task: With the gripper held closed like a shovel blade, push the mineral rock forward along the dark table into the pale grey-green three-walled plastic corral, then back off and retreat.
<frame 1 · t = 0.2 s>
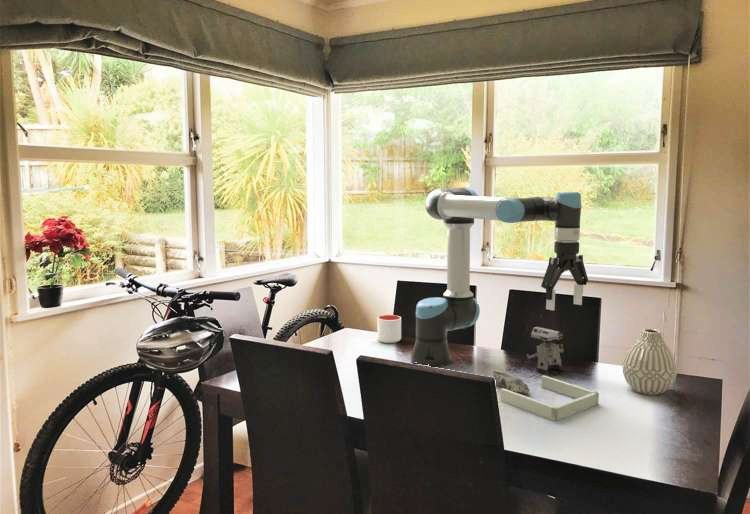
hand: (564, 307, 193), 28 cm above the table, fingers open, 13 cm apart
vase: (647, 391, 196), on the table
figurine: (544, 369, 217), on the table
corral: (548, 402, 186), on the table
mineral rock: (510, 389, 198), on the table
cup: (389, 341, 256), on the table
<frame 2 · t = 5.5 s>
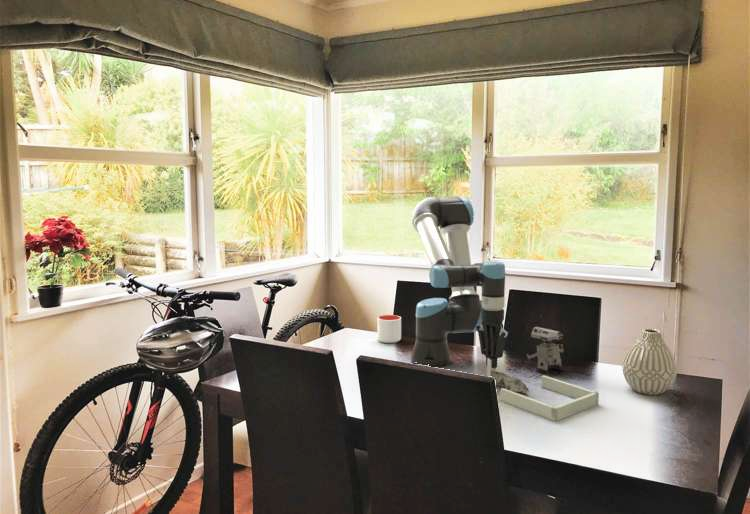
hand: (491, 376, 204), 2 cm above the table, fingers closed
mineral rock: (509, 389, 198), on the table, touching gripper
everything else where it was.
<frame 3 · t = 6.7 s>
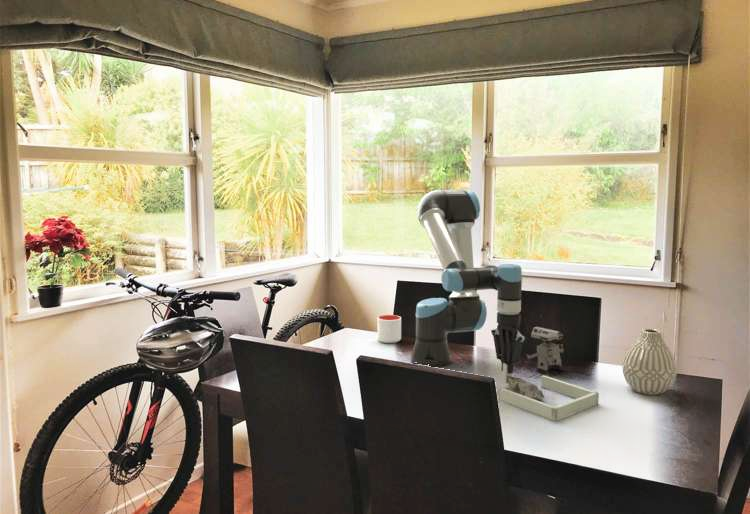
hand: (507, 381, 199), 2 cm above the table, fingers closed
mineral rock: (525, 395, 192), on the table, touching gripper
everything else where it was.
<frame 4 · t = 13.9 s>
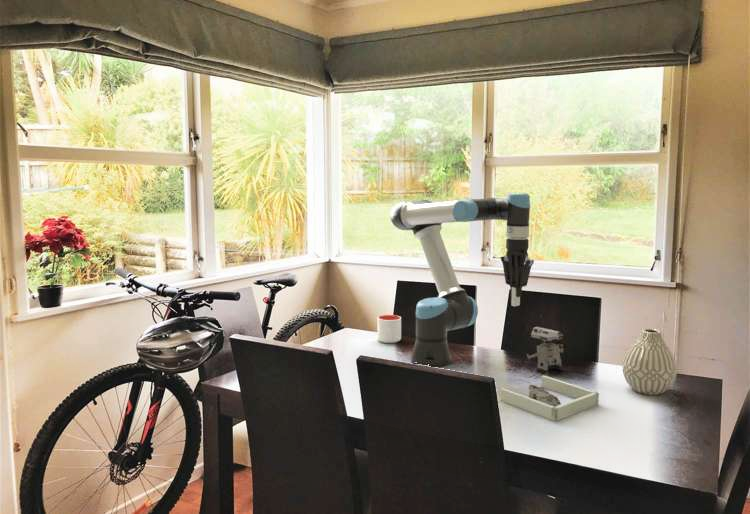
hand: (515, 305, 210), 24 cm above the table, fingers closed
mineral rock: (544, 406, 184), on the table
everything else where it was.
at the end: mineral rock inside the target area on the corral (2.9 cm from its centre), point 0.0 cm above the corral's base; mineral rock moved 15.9 cm from its start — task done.
